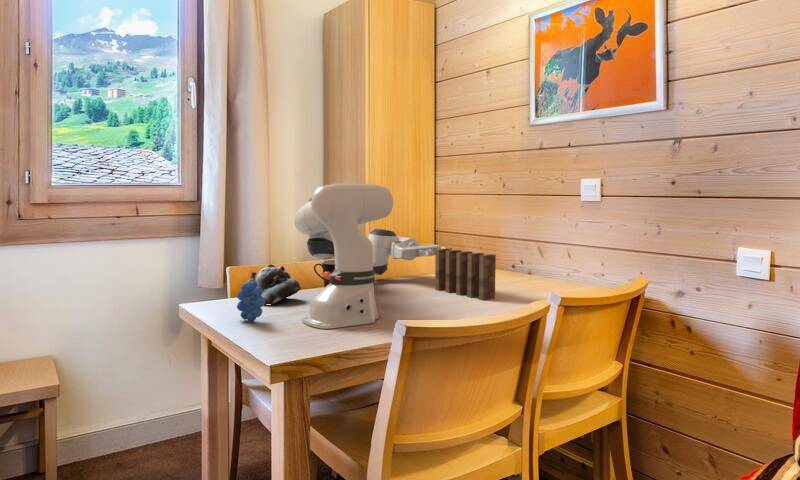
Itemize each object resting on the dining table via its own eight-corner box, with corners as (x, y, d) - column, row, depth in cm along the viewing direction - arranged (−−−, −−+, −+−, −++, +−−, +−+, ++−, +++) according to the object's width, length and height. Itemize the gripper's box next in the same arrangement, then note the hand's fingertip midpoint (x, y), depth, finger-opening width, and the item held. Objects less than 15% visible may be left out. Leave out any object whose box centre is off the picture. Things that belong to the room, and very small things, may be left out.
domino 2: (448, 292, 201) (449, 251, 199) (445, 292, 202) (445, 250, 200) (460, 290, 204) (461, 250, 203) (457, 290, 206) (457, 249, 204)
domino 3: (459, 295, 196) (460, 252, 195) (456, 294, 198) (456, 252, 196) (471, 293, 200) (472, 251, 198) (468, 292, 201) (468, 251, 200)
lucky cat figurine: (264, 307, 176) (246, 268, 178) (257, 315, 187) (240, 277, 188) (306, 289, 184) (288, 251, 185) (297, 297, 194) (280, 261, 196)
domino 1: (438, 290, 205) (438, 250, 203) (435, 289, 206) (435, 249, 205) (450, 288, 209) (450, 248, 207) (447, 288, 210) (447, 248, 208)
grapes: (276, 322, 158) (275, 280, 157) (256, 326, 153) (255, 283, 152) (251, 316, 166) (250, 276, 165) (231, 320, 161) (230, 279, 159)
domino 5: (482, 300, 188) (483, 256, 186) (478, 299, 189) (479, 255, 188) (494, 298, 191) (495, 254, 190) (491, 297, 193) (491, 254, 191)
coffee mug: (349, 288, 209) (350, 262, 207) (331, 292, 202) (331, 265, 201) (329, 283, 217) (330, 257, 215) (311, 286, 210) (312, 260, 209)
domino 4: (471, 297, 192) (471, 254, 190) (467, 297, 193) (467, 254, 192) (483, 295, 196) (483, 253, 194) (479, 294, 197) (479, 252, 196)
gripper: (427, 254, 231) (450, 259, 220) (388, 258, 218) (410, 264, 207) (428, 239, 230) (451, 243, 219) (388, 242, 217) (410, 247, 206)
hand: (431, 253), depth 213 cm, fingers closed
